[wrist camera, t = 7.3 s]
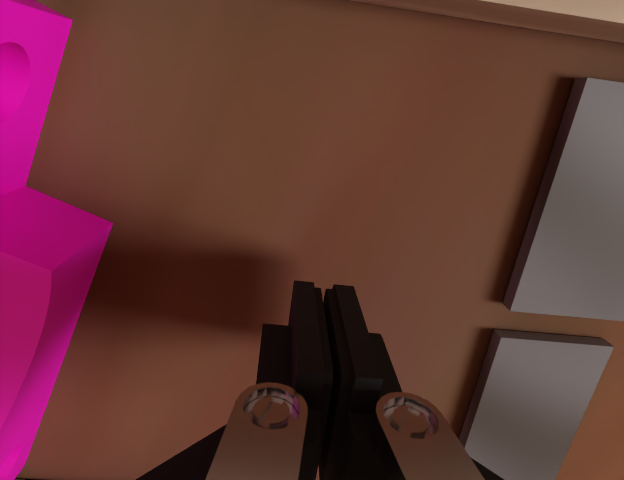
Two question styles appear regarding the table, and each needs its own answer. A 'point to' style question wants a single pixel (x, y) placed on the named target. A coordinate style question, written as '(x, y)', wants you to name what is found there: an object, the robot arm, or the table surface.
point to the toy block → (34, 233)
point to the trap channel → (553, 256)
